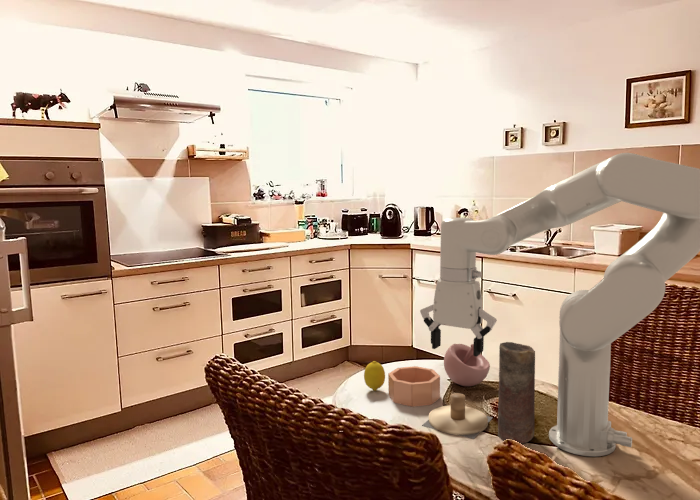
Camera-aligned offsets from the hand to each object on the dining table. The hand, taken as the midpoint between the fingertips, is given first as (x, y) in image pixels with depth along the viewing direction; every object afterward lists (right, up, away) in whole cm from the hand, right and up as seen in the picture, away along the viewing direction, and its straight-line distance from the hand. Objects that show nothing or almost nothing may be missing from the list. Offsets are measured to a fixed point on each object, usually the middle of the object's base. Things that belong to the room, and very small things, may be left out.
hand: (456, 351), depth 118 cm
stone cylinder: (+11, -18, -5) cm, 22 cm away
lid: (+1, -16, +2) cm, 16 cm away
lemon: (-17, -15, +22) cm, 32 cm away
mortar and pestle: (+8, -14, +25) cm, 29 cm away
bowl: (-7, -15, +17) cm, 24 cm away
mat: (+1, -17, +2) cm, 17 cm away
